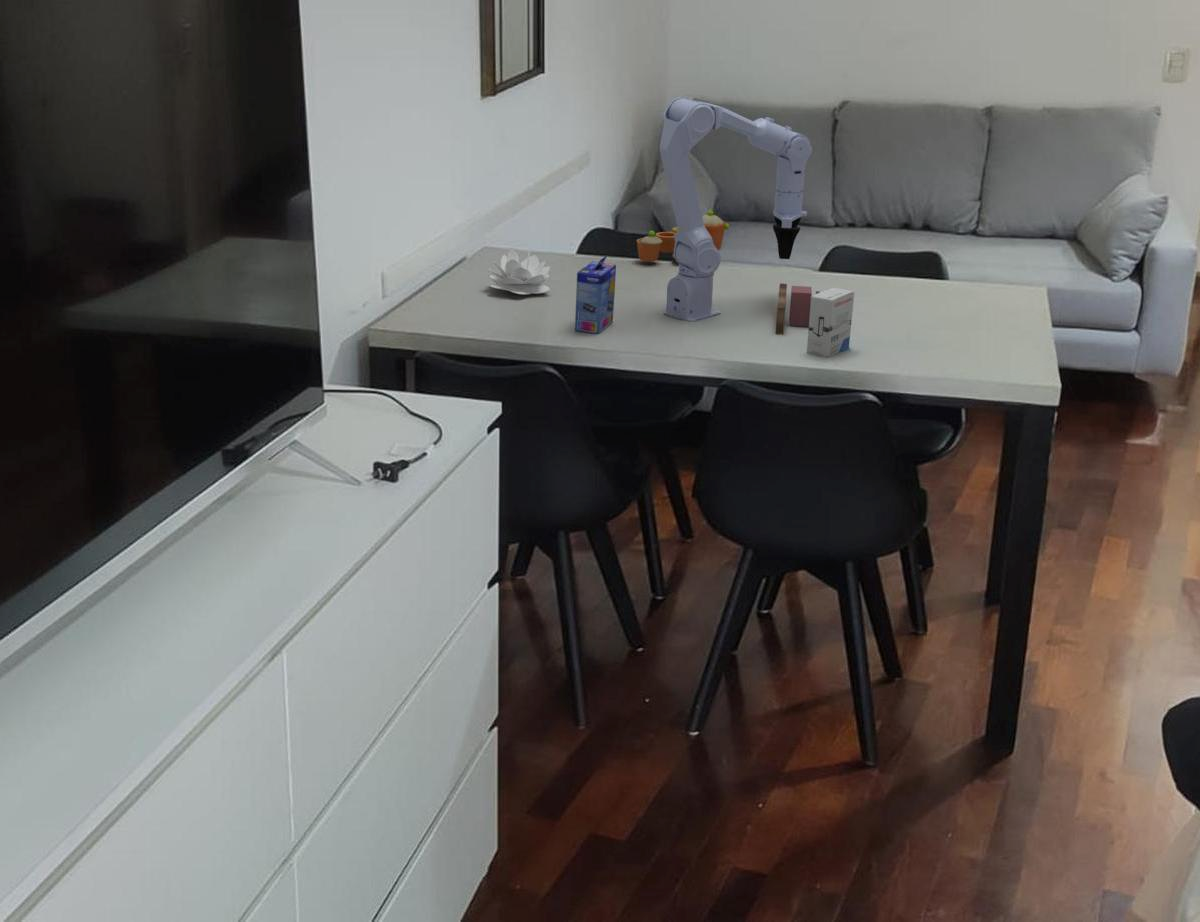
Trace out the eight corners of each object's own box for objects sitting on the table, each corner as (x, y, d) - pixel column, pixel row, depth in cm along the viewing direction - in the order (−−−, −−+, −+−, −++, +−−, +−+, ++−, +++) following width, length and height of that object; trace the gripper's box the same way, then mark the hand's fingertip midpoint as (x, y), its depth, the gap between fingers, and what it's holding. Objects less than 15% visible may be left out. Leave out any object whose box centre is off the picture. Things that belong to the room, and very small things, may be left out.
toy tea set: (677, 238, 364) (678, 199, 360) (733, 246, 356) (735, 207, 353) (625, 259, 343) (626, 219, 339) (683, 269, 336) (685, 228, 332)
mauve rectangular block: (809, 326, 295) (811, 293, 292) (789, 325, 295) (791, 292, 293) (808, 319, 300) (811, 286, 297) (789, 318, 300) (791, 285, 297)
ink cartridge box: (600, 335, 287) (601, 263, 281) (573, 331, 288) (574, 260, 283) (615, 321, 296) (617, 251, 290) (589, 318, 297) (590, 249, 292)
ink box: (828, 344, 284) (833, 285, 280) (850, 349, 282) (855, 290, 277) (805, 354, 278) (809, 294, 274) (827, 359, 275) (832, 299, 271)
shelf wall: (783, 334, 290) (785, 307, 288) (775, 333, 290) (777, 307, 288) (785, 309, 306) (787, 283, 304) (778, 308, 306) (779, 283, 304)
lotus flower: (526, 302, 307) (526, 262, 304) (471, 290, 315) (471, 250, 312) (566, 288, 318) (566, 249, 315) (512, 276, 326) (512, 238, 323)
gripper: (808, 198, 295) (803, 263, 300) (809, 184, 308) (804, 246, 313) (773, 196, 296) (769, 261, 301) (775, 182, 309) (771, 245, 314)
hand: (784, 254), depth 307 cm, fingers open, 7 cm apart
